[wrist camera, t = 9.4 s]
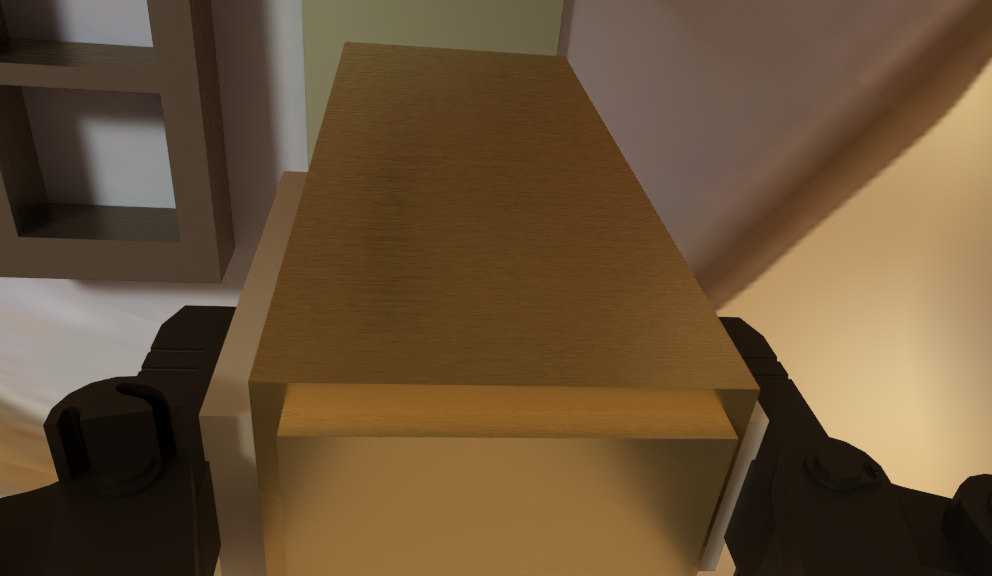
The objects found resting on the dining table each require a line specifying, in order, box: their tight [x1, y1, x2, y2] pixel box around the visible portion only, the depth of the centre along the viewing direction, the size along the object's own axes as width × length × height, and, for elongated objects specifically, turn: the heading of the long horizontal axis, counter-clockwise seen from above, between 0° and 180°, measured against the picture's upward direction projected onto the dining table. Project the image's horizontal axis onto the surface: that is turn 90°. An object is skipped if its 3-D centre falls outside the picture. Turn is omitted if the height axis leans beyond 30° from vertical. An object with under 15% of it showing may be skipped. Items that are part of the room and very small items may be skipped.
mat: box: [302, 0, 564, 170], centre depth 30 cm, size 14×10×1 cm
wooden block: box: [248, 42, 761, 576], centre depth 14 cm, size 5×5×12 cm
